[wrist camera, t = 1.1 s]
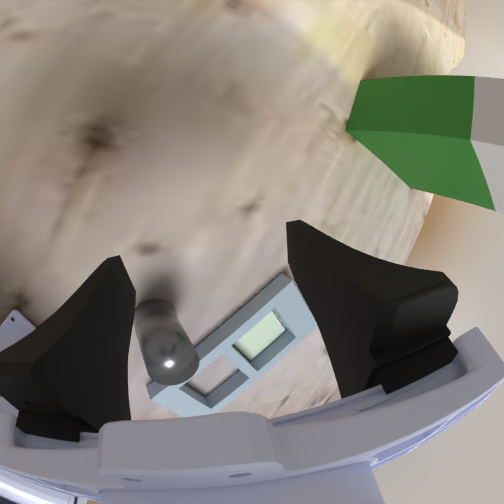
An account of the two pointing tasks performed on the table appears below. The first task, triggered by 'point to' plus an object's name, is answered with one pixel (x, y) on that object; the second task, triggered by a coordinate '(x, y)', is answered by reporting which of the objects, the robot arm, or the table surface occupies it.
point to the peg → (164, 343)
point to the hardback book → (437, 133)
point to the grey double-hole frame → (244, 348)
